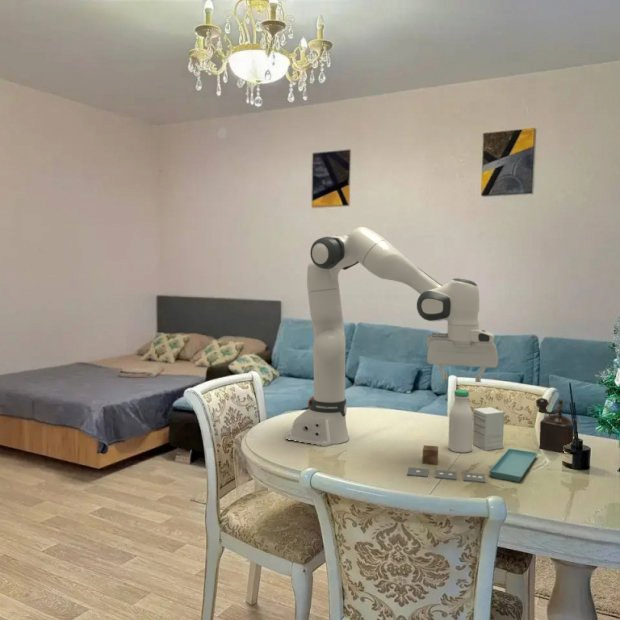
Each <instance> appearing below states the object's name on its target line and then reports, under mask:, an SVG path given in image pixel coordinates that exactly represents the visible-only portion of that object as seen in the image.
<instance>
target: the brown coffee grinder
mask: <svg viewBox="0 0 620 620" xmlns="http://www.w3.org/2000/svg"><path fill="white" fill-rule="evenodd" d="M563 402H564V401H563V399H559V400H558V404H557V405H558V406H557V408H556V409H555V411H554V410H553V411H548V410H547V407H548V406H549V405H550V404H549V401H548V399H547V398H543V397H541V398H538V399H536V400H535V403H536V406H537V407H538V410H537V411H538V413H539V414H540V413H541V414H547V416H545V417H543V419H542V420H541V421H540V422H539V424H540V425H539V447H538V448H539V449H541V450H546V451H550V452H554V453H560V454H565V453H564V451H563V446H564V445H567V444H570V443H571V442H572V440H573V437H574V431H573V423H572V419H573V418H569V417H568V416H565V415H563V413H562V412H563V411H562V409H563V408H562V407H564V403H563ZM575 420H576V421H577V432H578V433H579V420H578V419H575Z"/></svg>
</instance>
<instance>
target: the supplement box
mask: <svg viewBox="0 0 620 620" xmlns="http://www.w3.org/2000/svg"><path fill="white" fill-rule="evenodd" d="M472 414H473V440H472V446H473V445H474V446H475V447H477V448H479V449H481V450H483V451H490V450H499V449H504V422H505V420H504V419H505V415H504V414H505V412H504V411H503V410H500V409H497V408H494V407H493V406H492V407H490V406H488V407H479V408H473V411H472Z"/></svg>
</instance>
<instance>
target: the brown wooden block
mask: <svg viewBox="0 0 620 620" xmlns="http://www.w3.org/2000/svg"><path fill="white" fill-rule="evenodd" d="M438 463H439V446H438V445H425V444H424V445H423V448H422V464H426V465H433V466H434V465H435V466H437V465H438Z"/></svg>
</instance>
